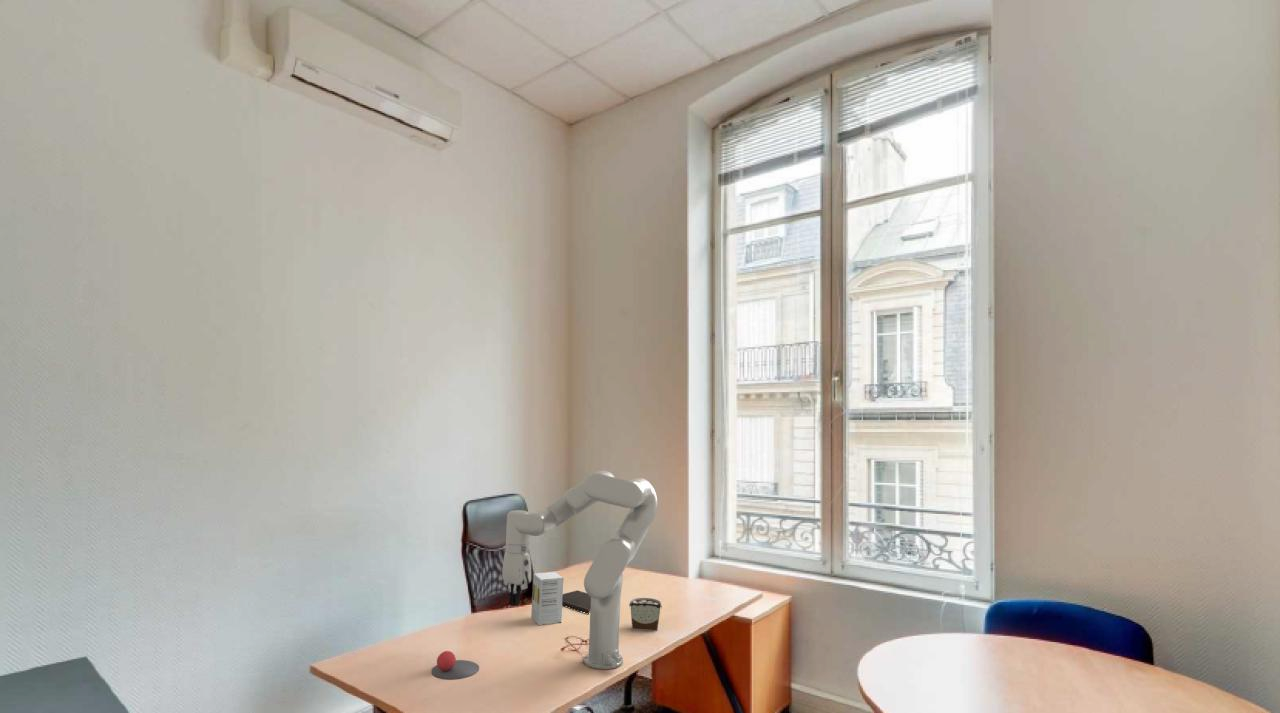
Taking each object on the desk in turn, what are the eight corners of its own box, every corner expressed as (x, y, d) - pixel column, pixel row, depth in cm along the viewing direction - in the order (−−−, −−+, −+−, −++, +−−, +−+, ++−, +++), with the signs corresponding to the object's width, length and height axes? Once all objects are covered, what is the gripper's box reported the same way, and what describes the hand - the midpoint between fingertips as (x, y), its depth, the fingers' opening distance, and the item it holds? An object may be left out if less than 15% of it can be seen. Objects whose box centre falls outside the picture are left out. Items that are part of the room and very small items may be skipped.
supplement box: (530, 618, 246) (532, 573, 247) (553, 615, 250) (555, 571, 251) (538, 626, 237) (540, 579, 239) (562, 623, 241) (564, 577, 243)
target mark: (485, 673, 193) (485, 673, 193) (438, 682, 186) (438, 682, 186) (471, 657, 205) (471, 657, 205) (426, 665, 198) (426, 665, 198)
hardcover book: (577, 595, 280) (577, 590, 280) (616, 607, 265) (616, 601, 265) (549, 603, 267) (549, 597, 268) (588, 616, 252) (588, 610, 253)
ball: (445, 658, 191) (447, 676, 192) (458, 649, 196) (460, 666, 196) (431, 655, 194) (433, 672, 194) (445, 646, 199) (447, 663, 199)
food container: (662, 625, 242) (663, 598, 243) (661, 631, 236) (662, 603, 237) (629, 623, 243) (630, 596, 244) (628, 629, 237) (629, 601, 238)
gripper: (540, 550, 213) (538, 607, 212) (511, 543, 223) (509, 597, 221) (523, 553, 207) (520, 612, 206) (493, 546, 217) (491, 602, 215)
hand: (514, 604), depth 214 cm, fingers closed
